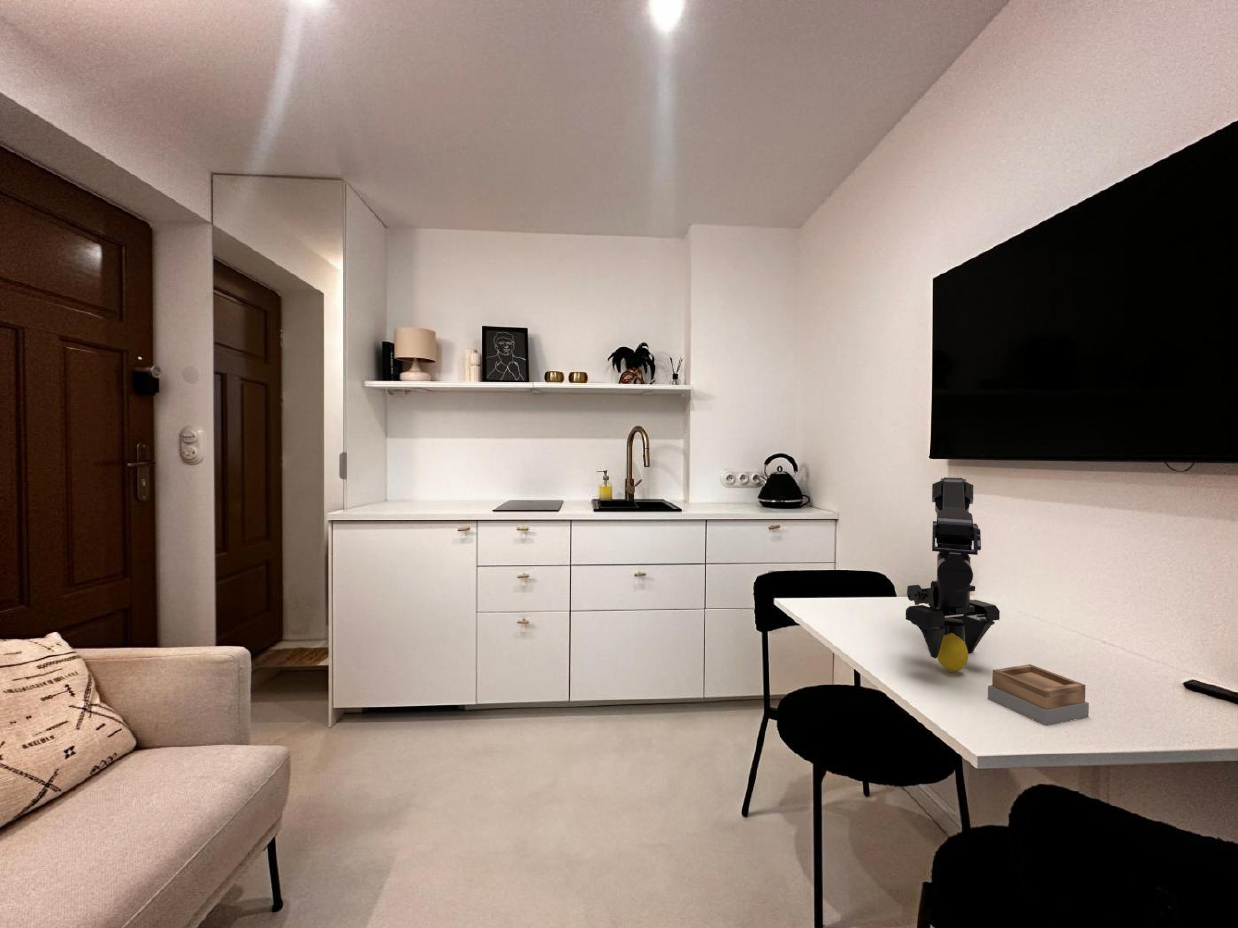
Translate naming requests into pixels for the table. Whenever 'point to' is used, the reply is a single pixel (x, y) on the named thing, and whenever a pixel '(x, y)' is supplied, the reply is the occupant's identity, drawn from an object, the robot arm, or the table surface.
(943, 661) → the lemon
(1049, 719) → the bottom block
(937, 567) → the robot arm
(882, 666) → the table surface
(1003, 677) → the wooden tray
